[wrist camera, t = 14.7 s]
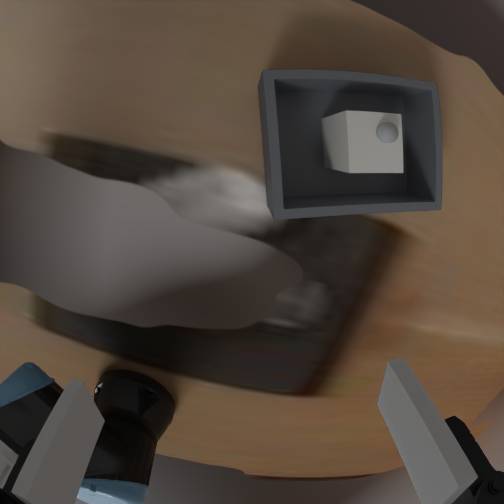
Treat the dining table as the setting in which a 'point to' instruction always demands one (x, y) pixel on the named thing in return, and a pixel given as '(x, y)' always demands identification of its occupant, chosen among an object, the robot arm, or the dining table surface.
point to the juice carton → (363, 142)
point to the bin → (311, 143)
